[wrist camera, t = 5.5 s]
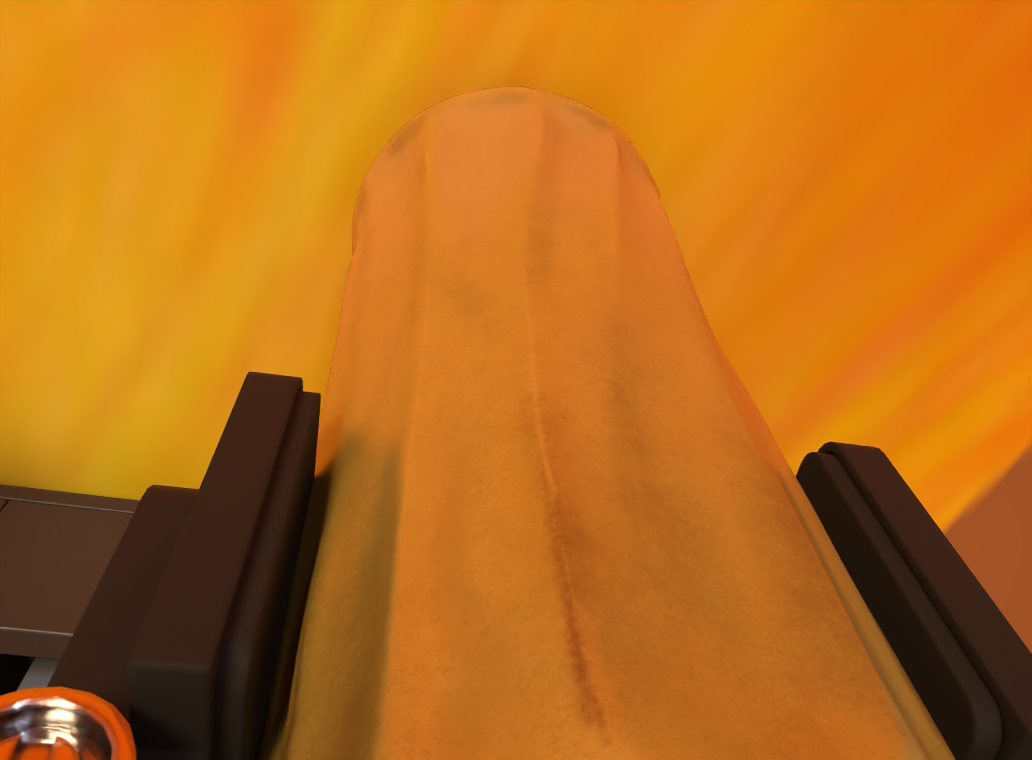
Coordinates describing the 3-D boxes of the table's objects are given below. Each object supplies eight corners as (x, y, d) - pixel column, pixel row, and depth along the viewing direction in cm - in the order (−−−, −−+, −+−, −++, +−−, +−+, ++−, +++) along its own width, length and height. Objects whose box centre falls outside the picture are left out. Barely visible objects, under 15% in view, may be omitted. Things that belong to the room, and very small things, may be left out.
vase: (666, 354, 19) (1048, 1228, 7) (385, 393, 19) (261, 1328, 7) (653, 62, 16) (1299, 682, 4) (320, 108, 16) (-112, 867, 4)
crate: (30, 806, 28) (-44, 959, 24) (-16, 481, 22) (-126, 615, 18) (431, 837, 29) (424, 986, 25) (494, 540, 23) (497, 676, 19)
